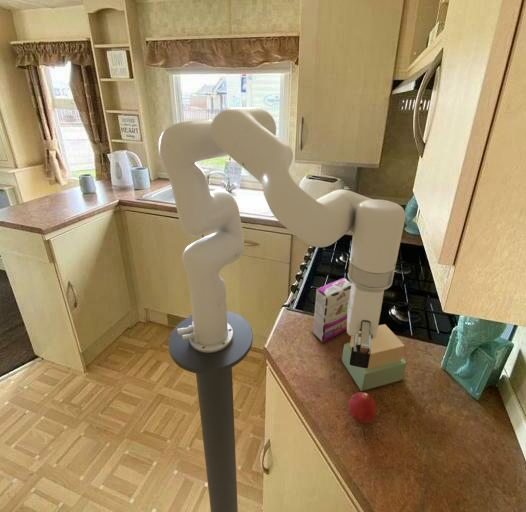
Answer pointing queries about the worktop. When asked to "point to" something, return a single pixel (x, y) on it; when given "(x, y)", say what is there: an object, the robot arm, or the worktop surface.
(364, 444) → the worktop surface
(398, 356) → the box stack
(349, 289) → the candy bar box
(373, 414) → the onion
